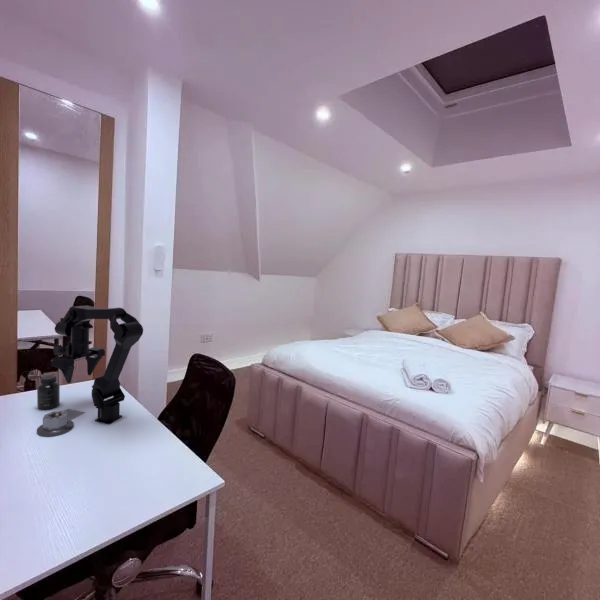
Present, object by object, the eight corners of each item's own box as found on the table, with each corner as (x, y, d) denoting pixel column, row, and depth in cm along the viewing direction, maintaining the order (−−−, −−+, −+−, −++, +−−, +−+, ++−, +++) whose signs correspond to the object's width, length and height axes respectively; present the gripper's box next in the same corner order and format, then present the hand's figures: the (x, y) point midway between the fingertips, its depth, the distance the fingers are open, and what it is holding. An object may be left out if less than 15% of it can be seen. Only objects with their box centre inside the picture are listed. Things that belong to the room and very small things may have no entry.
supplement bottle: (40, 404, 127) (40, 374, 125) (61, 402, 130) (61, 373, 128) (34, 412, 120) (34, 380, 119) (57, 410, 123) (57, 379, 122)
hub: (81, 425, 114) (81, 414, 113) (54, 440, 104) (54, 427, 104) (57, 420, 116) (57, 409, 115) (28, 434, 106) (28, 422, 106)
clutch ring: (68, 420, 114) (68, 409, 114) (65, 429, 108) (65, 418, 108) (45, 423, 111) (45, 412, 111) (41, 432, 105) (41, 421, 105)
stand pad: (85, 413, 123) (85, 412, 123) (66, 422, 115) (66, 421, 115) (68, 409, 124) (68, 408, 124) (48, 418, 117) (48, 418, 117)
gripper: (82, 331, 133) (82, 368, 135) (38, 341, 115) (38, 383, 117) (106, 335, 131) (105, 372, 133) (64, 345, 113) (64, 388, 115)
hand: (79, 378), depth 124 cm, fingers open, 9 cm apart
